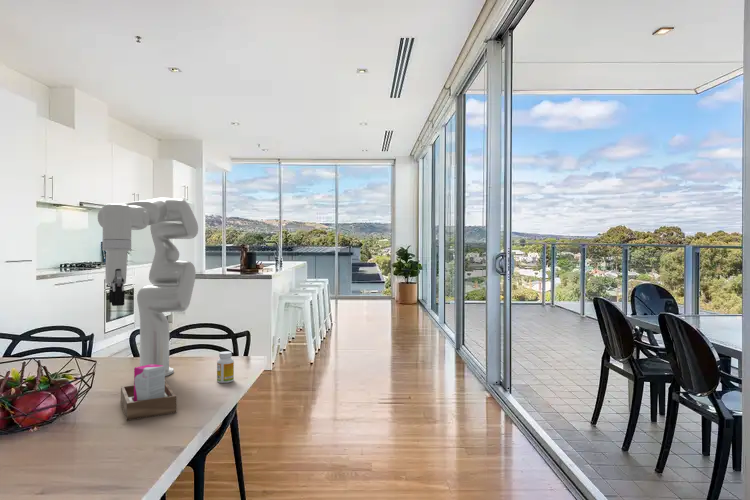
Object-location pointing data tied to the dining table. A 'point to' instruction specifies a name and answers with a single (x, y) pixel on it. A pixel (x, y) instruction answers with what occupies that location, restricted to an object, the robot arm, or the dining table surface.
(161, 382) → the supplement box
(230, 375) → the supplement bottle
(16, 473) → the dining table surface
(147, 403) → the walnut box
